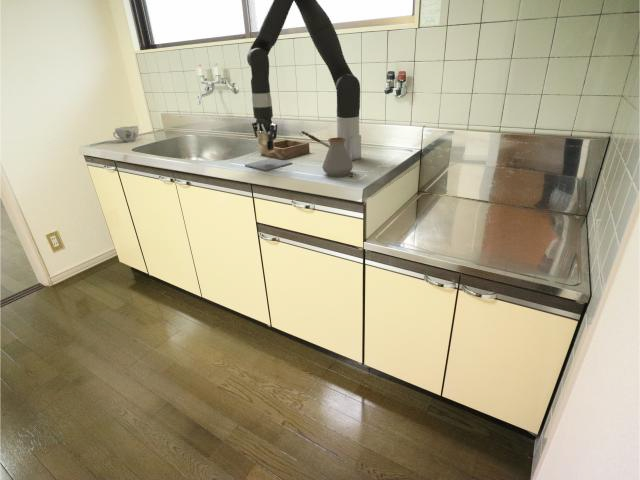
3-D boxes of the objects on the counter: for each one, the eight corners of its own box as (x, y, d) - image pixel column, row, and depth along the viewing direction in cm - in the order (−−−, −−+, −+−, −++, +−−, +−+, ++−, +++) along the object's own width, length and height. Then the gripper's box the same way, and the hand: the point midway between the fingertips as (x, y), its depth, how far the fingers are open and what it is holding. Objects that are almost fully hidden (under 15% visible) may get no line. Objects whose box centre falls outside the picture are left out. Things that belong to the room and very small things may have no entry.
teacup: (133, 138, 233) (130, 125, 229) (145, 140, 226) (142, 126, 222) (110, 143, 222) (106, 129, 218) (121, 144, 215) (117, 130, 211)
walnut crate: (309, 152, 176) (309, 142, 174) (283, 159, 166) (282, 149, 164) (287, 148, 186) (286, 139, 185) (261, 154, 176) (260, 145, 174)
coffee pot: (358, 171, 143) (358, 131, 137) (344, 179, 135) (343, 136, 128) (310, 166, 154) (308, 128, 147) (294, 173, 145) (291, 133, 138)
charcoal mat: (292, 163, 158) (292, 162, 158) (265, 171, 150) (265, 169, 149) (271, 159, 167) (270, 158, 167) (244, 166, 159) (244, 164, 158)
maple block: (274, 151, 156) (272, 132, 153) (266, 154, 153) (264, 133, 150) (267, 150, 159) (266, 131, 156) (259, 152, 156) (257, 132, 153)
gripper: (281, 105, 146) (285, 149, 153) (258, 103, 155) (263, 145, 163) (266, 107, 141) (270, 153, 149) (243, 105, 151) (249, 148, 158)
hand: (266, 148), depth 156 cm, fingers closed on maple block, 4 cm apart
